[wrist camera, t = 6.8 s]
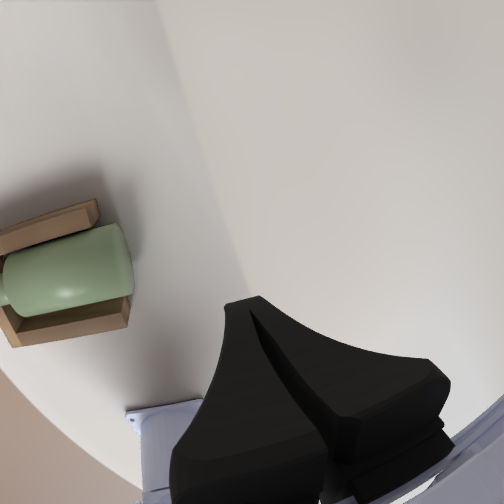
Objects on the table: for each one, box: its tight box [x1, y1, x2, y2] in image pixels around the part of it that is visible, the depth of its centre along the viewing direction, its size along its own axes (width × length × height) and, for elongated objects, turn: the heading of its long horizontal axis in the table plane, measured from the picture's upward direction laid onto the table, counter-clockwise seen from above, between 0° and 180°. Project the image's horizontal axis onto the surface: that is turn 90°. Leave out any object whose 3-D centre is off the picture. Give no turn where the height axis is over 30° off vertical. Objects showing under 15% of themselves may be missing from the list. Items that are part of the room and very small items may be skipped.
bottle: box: [0, 223, 134, 317], centre depth 16 cm, size 4×4×10 cm
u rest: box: [0, 199, 130, 348], centre depth 17 cm, size 8×10×2 cm
